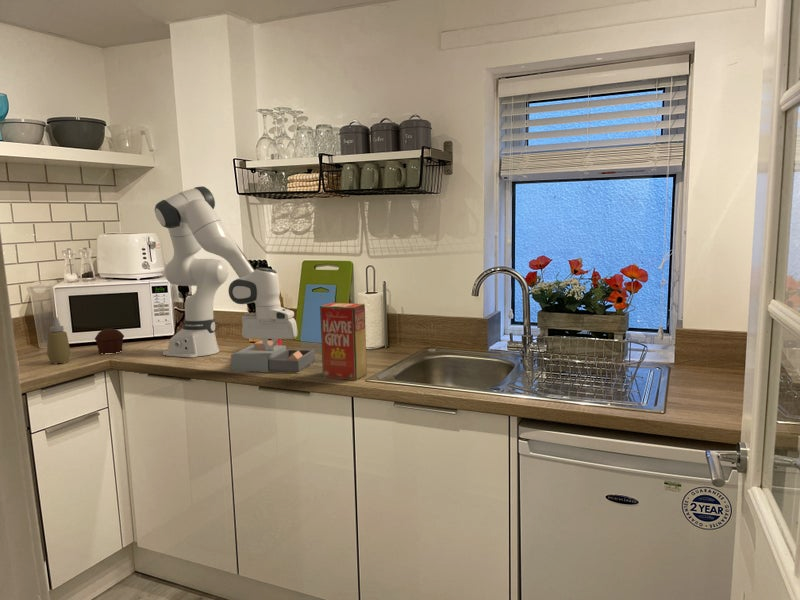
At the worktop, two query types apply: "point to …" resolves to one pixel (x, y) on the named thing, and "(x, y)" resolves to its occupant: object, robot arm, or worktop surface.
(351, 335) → the food packaging
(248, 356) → the grey rectangular box
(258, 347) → the tile
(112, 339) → the muffin
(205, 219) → the robot arm
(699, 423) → the worktop surface
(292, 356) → the tile
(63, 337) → the squeeze bottle
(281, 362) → the box
